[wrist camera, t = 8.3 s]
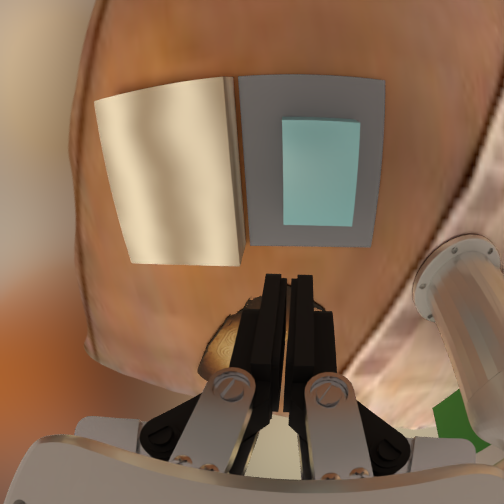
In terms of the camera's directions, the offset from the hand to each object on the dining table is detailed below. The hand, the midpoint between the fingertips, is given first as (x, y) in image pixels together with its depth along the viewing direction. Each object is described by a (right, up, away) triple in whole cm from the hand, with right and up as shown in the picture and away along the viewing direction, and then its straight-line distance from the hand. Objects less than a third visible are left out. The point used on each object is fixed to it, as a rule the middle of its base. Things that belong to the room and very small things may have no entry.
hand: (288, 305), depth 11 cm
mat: (+4, +10, +14) cm, 17 cm away
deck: (-8, +10, +15) cm, 20 cm away
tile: (+4, +8, +12) cm, 15 cm away
